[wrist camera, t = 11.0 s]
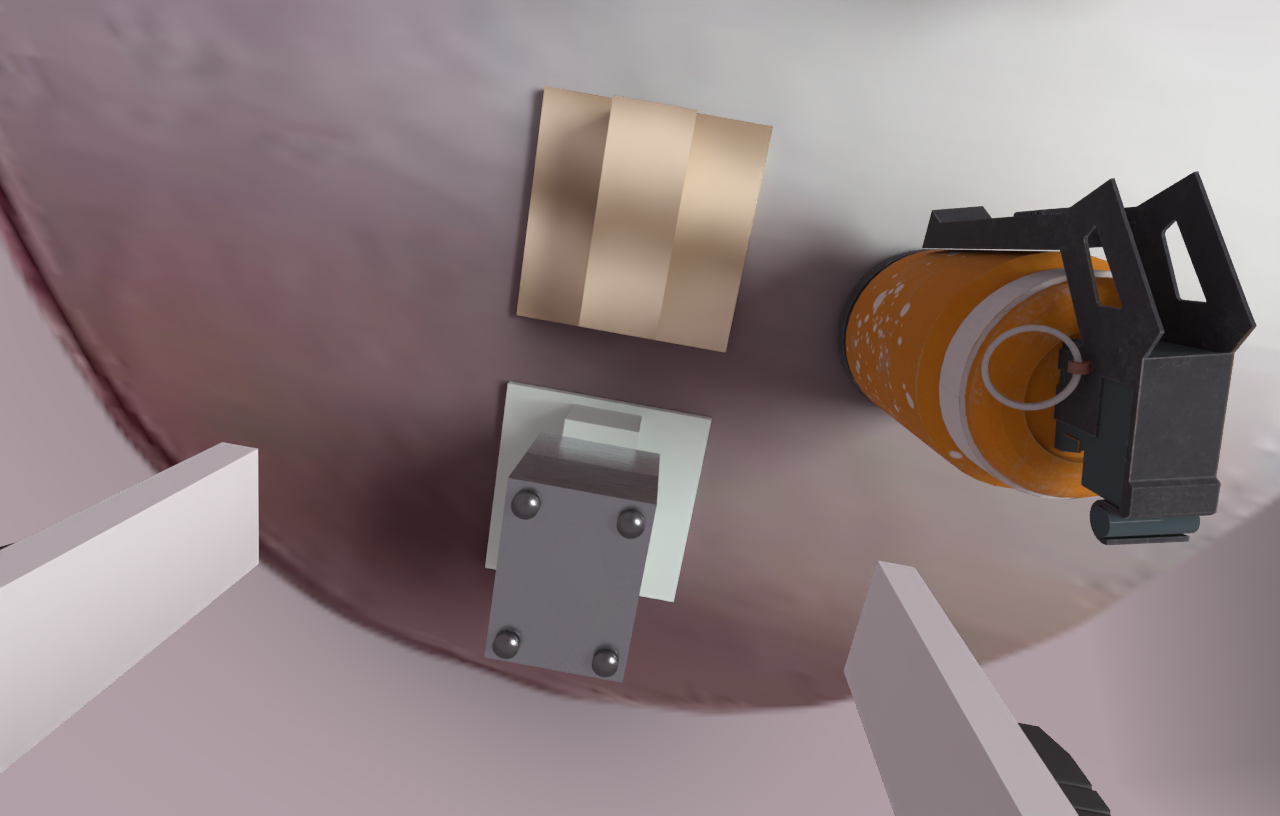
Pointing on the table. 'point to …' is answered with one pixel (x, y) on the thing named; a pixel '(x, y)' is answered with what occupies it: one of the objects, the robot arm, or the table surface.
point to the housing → (572, 556)
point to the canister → (1062, 354)
